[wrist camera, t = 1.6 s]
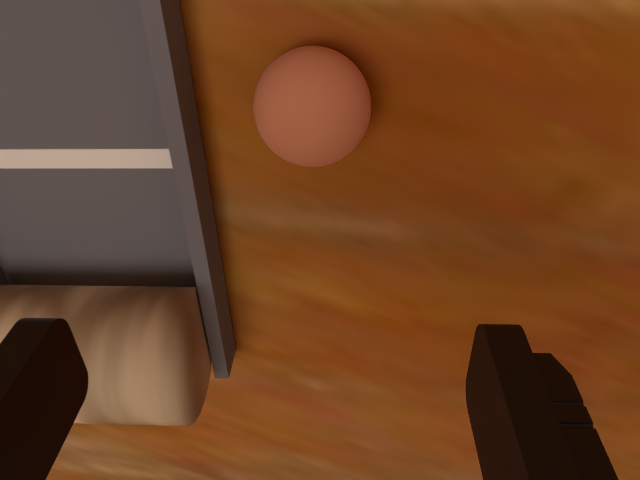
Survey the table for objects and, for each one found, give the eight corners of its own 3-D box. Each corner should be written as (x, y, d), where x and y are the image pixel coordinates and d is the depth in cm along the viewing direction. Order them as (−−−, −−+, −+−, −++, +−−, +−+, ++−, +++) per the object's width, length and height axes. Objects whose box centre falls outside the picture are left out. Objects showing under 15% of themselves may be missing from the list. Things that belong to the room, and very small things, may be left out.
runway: (150, -178, 18) (80, -197, 14) (235, 348, 33) (216, 427, 28) (-202, -166, 19) (-384, -179, 14) (35, 344, 34) (-17, 421, 29)
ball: (371, 31, 22) (375, 65, 18) (368, 138, 25) (371, 188, 21) (257, 33, 22) (237, 66, 18) (266, 138, 25) (250, 188, 21)
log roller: (200, 260, 28) (162, 358, 23) (218, 352, 32) (189, 455, 27) (-2, 258, 29) (-89, 353, 23) (40, 348, 33) (-26, 449, 27)
